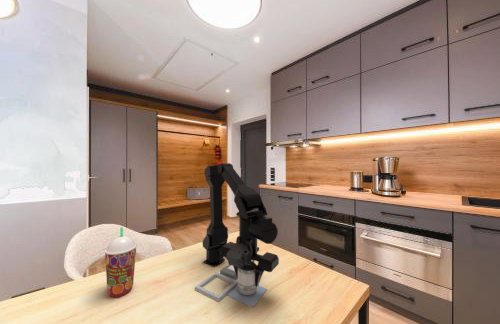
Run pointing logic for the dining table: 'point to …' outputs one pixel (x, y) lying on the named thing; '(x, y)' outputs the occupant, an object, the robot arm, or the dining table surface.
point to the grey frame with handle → (226, 275)
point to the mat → (248, 299)
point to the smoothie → (120, 265)
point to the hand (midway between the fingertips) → (247, 282)
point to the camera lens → (247, 279)
